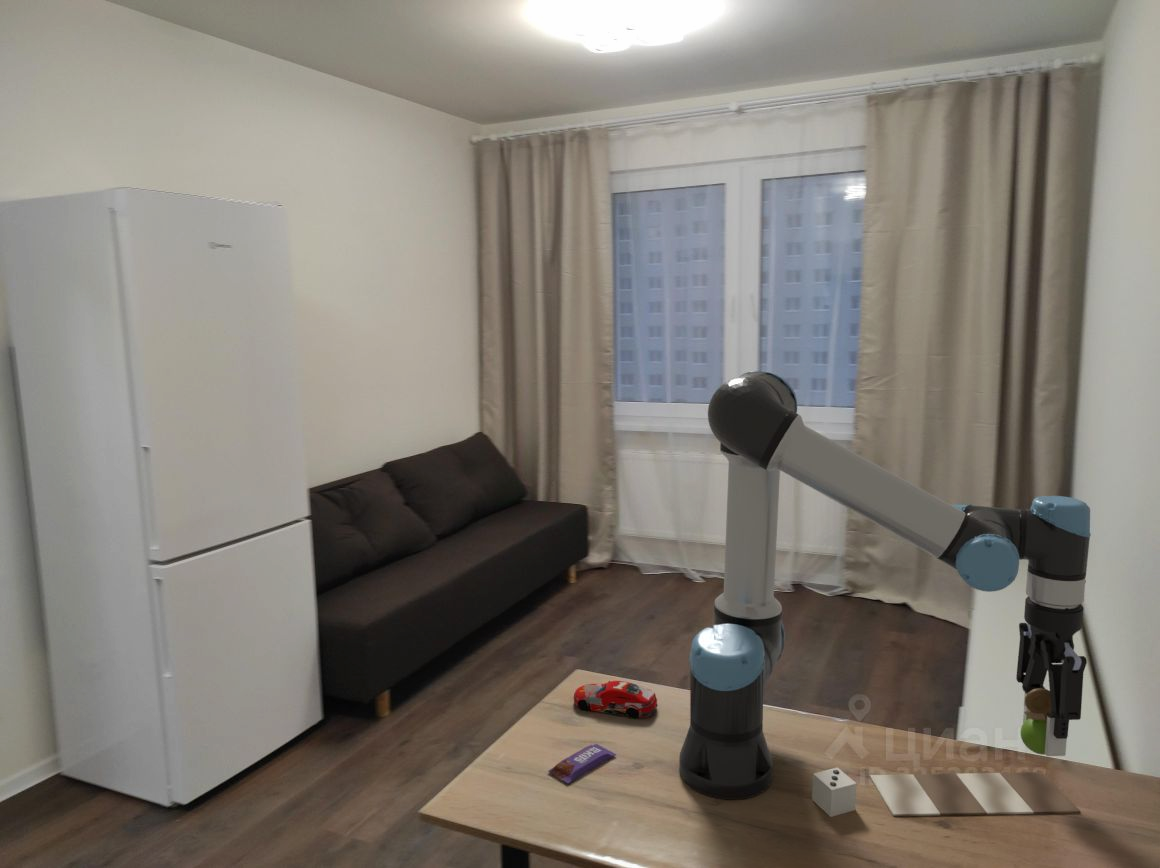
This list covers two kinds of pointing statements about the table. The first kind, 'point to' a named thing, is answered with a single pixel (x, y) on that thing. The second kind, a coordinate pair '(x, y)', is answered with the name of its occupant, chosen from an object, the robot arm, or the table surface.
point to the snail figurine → (1036, 720)
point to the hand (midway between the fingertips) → (1043, 743)
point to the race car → (617, 699)
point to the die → (834, 791)
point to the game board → (971, 794)
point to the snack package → (581, 762)
